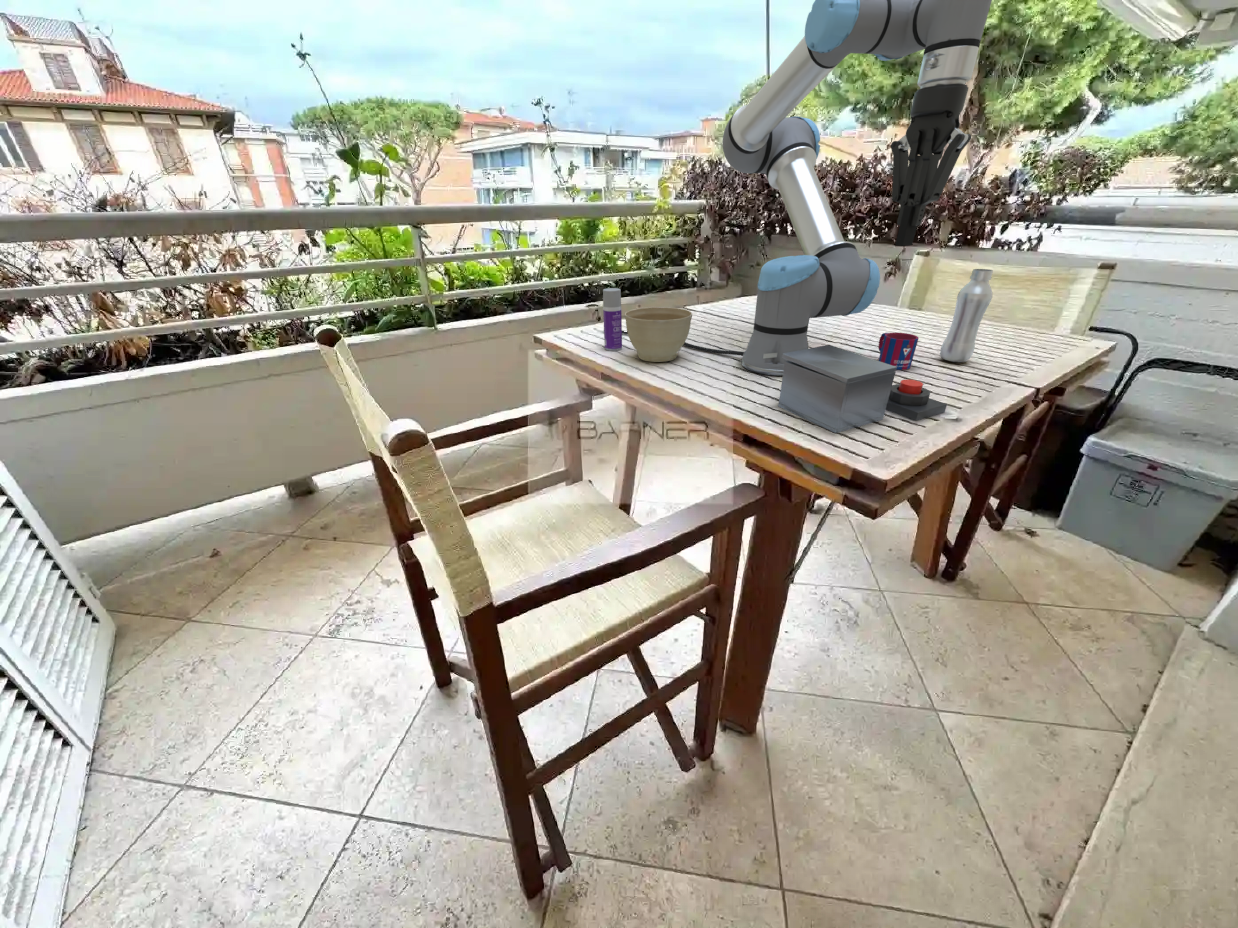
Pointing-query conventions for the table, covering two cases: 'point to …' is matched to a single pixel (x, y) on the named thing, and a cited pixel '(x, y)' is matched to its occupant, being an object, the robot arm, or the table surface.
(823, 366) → the lid
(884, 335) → the mug
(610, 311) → the container
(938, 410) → the button base
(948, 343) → the silver metal bottle
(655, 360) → the planter bowl
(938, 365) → the table surface
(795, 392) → the tin
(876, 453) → the table surface
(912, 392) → the button
